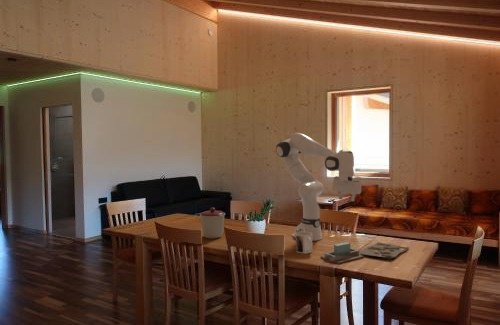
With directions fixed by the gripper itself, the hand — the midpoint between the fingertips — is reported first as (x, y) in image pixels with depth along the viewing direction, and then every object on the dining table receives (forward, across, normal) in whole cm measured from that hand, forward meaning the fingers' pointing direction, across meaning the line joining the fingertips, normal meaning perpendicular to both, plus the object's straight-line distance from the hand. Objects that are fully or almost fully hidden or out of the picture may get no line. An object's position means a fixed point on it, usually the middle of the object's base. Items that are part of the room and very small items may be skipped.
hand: (346, 200), depth 235 cm
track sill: (+31, +8, -12) cm, 34 cm away
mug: (+31, -14, -21) cm, 40 cm away
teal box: (+30, +8, -12) cm, 33 cm away
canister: (+31, -80, -49) cm, 99 cm away
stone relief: (+32, +14, +16) cm, 38 cm away
